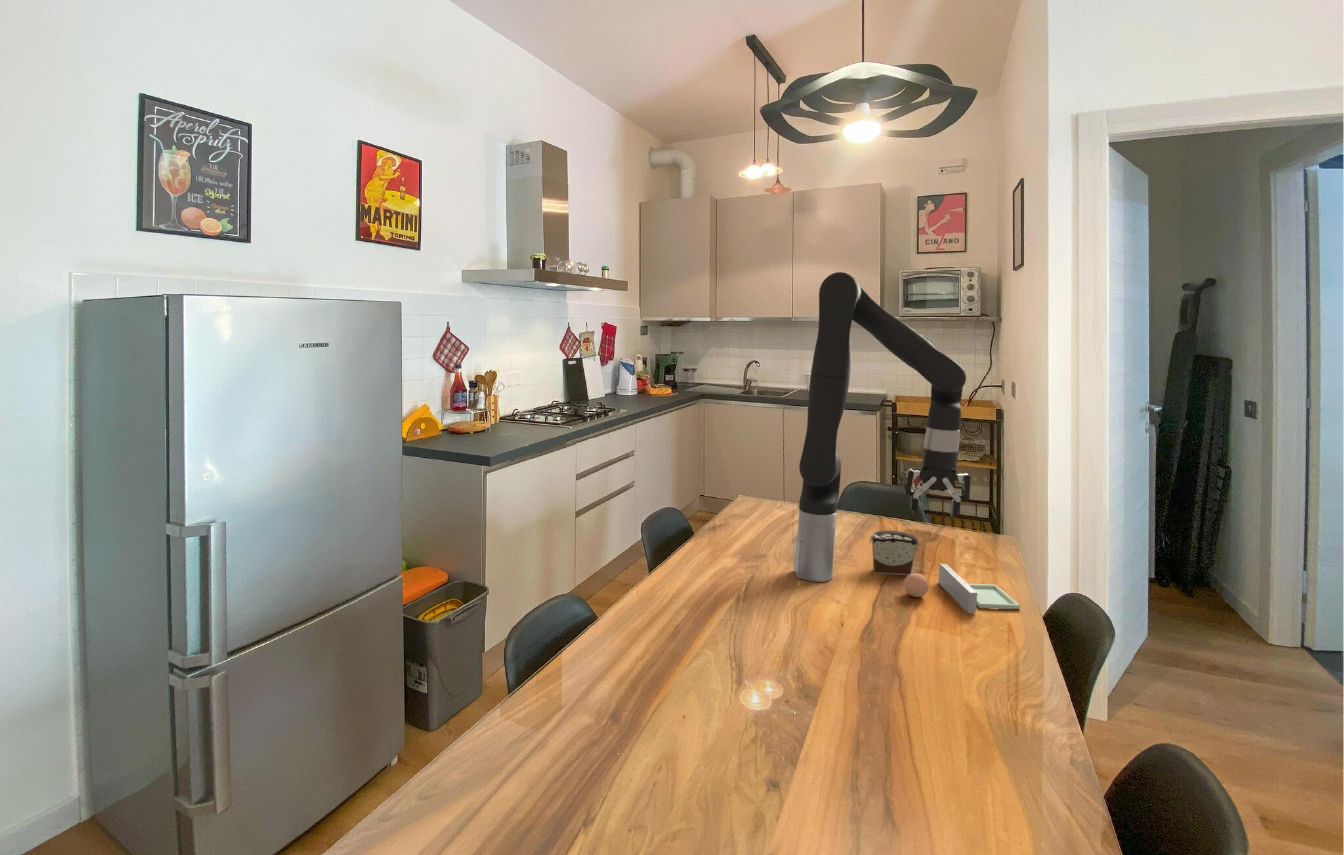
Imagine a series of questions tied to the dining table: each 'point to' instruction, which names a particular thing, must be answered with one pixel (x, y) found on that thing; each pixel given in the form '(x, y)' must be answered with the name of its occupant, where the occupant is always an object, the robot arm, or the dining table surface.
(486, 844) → the dining table surface
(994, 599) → the sage tray
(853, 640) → the dining table surface
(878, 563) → the food container
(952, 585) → the low wall
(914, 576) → the ball
